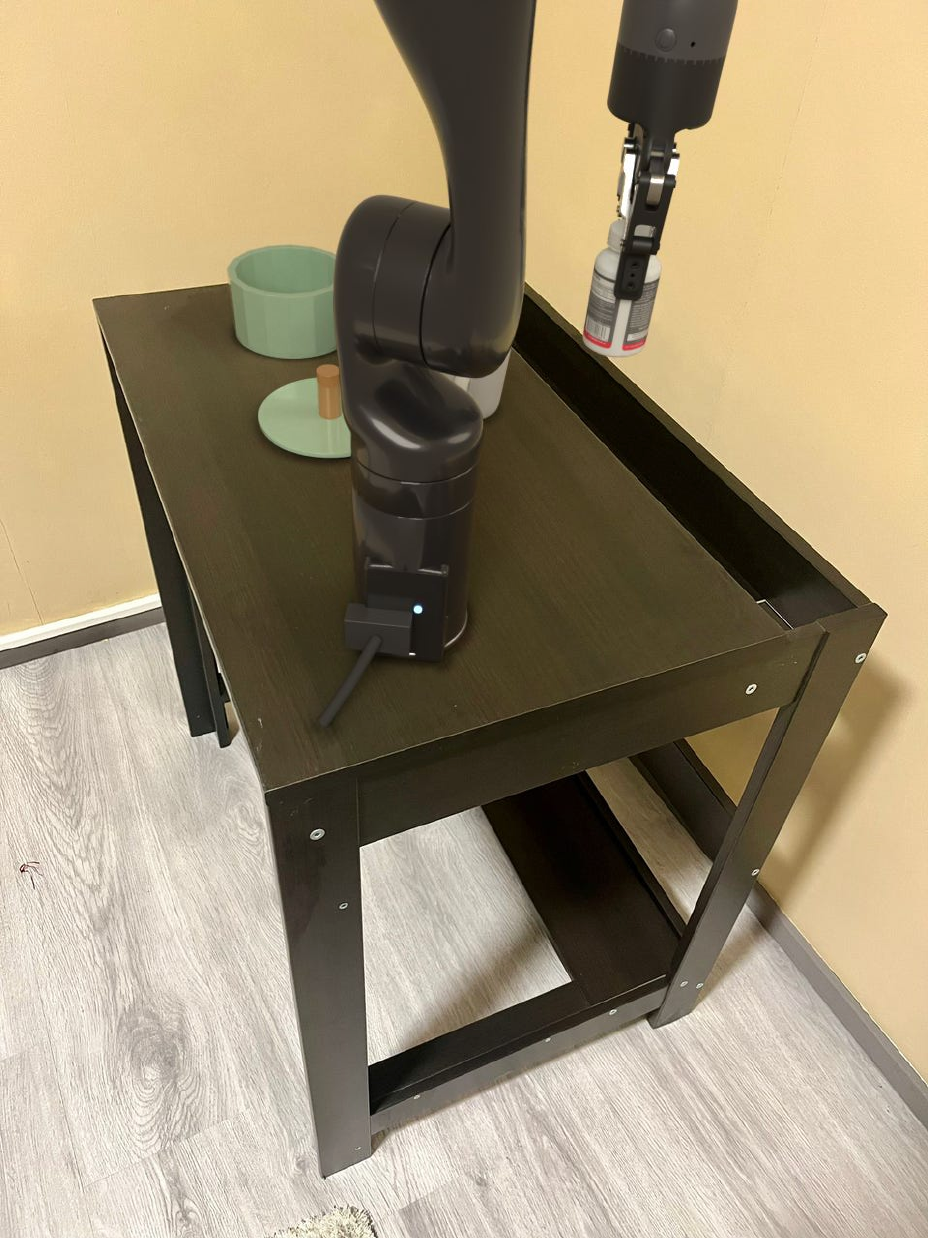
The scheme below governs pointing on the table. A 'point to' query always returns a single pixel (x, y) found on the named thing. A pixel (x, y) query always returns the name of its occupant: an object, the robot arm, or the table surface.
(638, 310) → the pill bottle
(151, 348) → the table surface
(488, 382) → the cup
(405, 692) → the table surface
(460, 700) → the table surface
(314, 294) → the pot
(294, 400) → the lid
